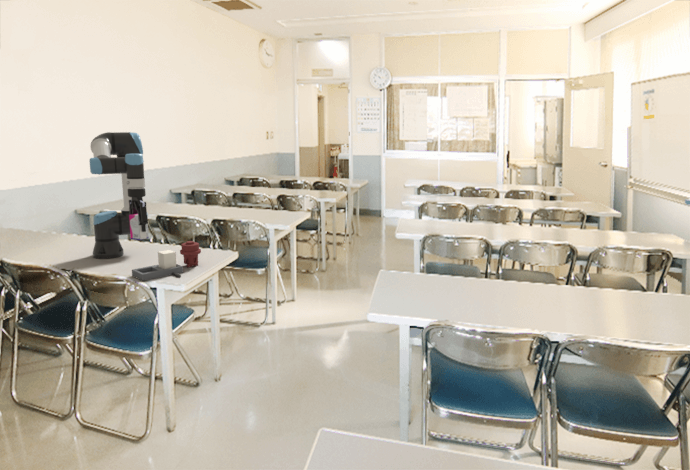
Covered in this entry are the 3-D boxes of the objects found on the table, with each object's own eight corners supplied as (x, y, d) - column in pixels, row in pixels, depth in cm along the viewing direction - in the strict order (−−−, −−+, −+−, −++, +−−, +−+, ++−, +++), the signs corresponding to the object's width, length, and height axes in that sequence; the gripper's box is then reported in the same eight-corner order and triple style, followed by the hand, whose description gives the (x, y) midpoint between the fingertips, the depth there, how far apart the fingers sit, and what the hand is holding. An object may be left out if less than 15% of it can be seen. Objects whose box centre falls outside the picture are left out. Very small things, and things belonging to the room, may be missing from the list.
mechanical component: (205, 263, 269) (195, 269, 260) (186, 262, 271) (177, 267, 262) (203, 240, 267) (194, 244, 257) (185, 239, 269) (175, 243, 259)
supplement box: (149, 238, 246) (147, 213, 244) (139, 240, 241) (137, 215, 239) (140, 236, 249) (138, 212, 246) (130, 239, 243) (128, 214, 241)
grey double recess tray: (132, 275, 247) (130, 255, 245) (172, 267, 261) (171, 248, 259) (149, 284, 235) (147, 262, 233) (190, 275, 249) (189, 254, 247)
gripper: (119, 186, 245) (123, 235, 249) (137, 190, 231) (141, 241, 235) (135, 185, 250) (138, 233, 254) (154, 189, 236) (157, 239, 240)
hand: (139, 237), depth 245 cm, fingers closed on supplement box, 7 cm apart
